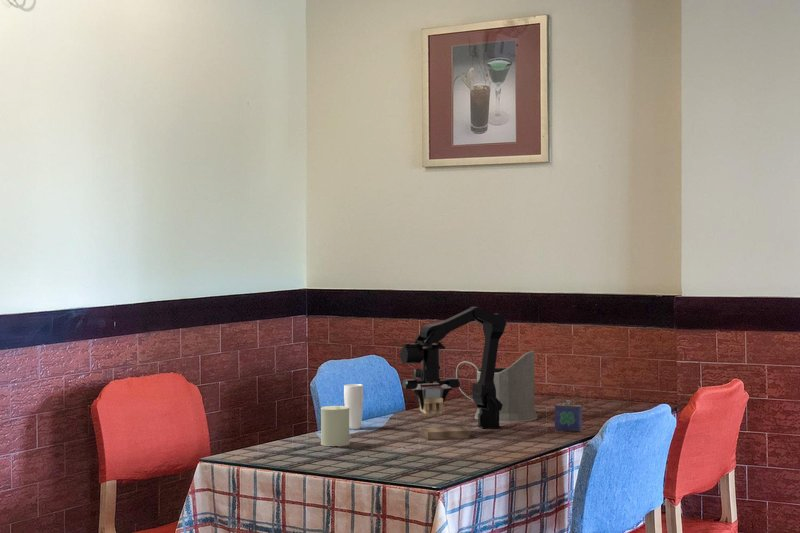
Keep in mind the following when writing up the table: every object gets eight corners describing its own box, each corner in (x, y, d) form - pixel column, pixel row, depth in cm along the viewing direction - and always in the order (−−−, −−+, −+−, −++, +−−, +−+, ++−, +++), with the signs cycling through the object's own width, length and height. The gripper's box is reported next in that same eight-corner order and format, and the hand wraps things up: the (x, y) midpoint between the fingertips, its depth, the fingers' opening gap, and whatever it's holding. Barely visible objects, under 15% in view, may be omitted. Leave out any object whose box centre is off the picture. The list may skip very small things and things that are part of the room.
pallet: (436, 410, 339) (436, 395, 339) (443, 413, 331) (442, 398, 331) (419, 410, 337) (419, 396, 337) (425, 414, 330) (425, 399, 330)
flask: (582, 431, 334) (582, 399, 334) (580, 433, 331) (580, 400, 331) (555, 430, 337) (555, 398, 337) (553, 431, 335) (553, 399, 335)
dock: (461, 433, 331) (461, 426, 331) (469, 438, 322) (469, 430, 322) (421, 435, 328) (421, 428, 328) (427, 440, 319) (427, 432, 319)
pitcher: (524, 423, 352) (523, 353, 352) (443, 418, 367) (443, 350, 367) (546, 415, 372) (545, 348, 372) (469, 410, 387) (468, 346, 387)
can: (327, 447, 307) (327, 408, 307) (316, 443, 315) (315, 405, 315) (354, 445, 311) (354, 406, 311) (342, 440, 319) (342, 403, 319)
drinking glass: (360, 430, 340) (360, 386, 340) (341, 429, 341) (341, 386, 341) (365, 427, 346) (365, 384, 346) (346, 426, 348) (346, 383, 348)
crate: (436, 396, 337) (436, 387, 337) (440, 397, 332) (440, 388, 332) (422, 396, 336) (422, 387, 336) (425, 398, 331) (425, 389, 331)
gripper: (451, 359, 344) (451, 404, 344) (398, 361, 340) (399, 406, 340) (460, 362, 333) (460, 409, 333) (406, 364, 329) (406, 411, 329)
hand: (431, 408), depth 334 cm, fingers closed on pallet, 6 cm apart
